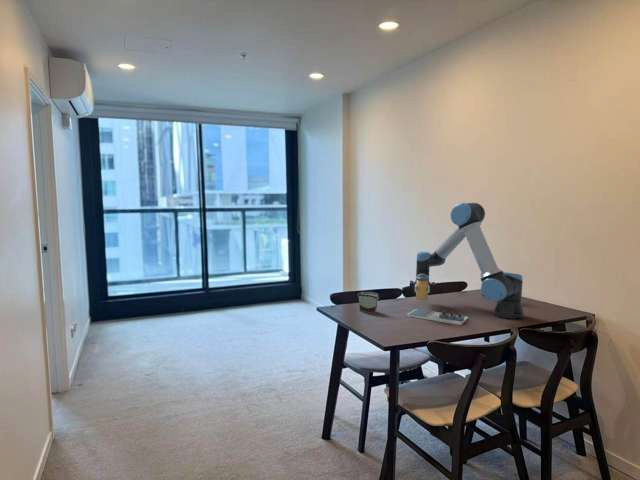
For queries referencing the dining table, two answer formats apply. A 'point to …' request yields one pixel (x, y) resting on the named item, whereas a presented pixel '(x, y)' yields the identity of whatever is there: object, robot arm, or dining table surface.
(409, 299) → the dining table surface
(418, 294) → the yellow jar
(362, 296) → the food container
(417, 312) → the board
